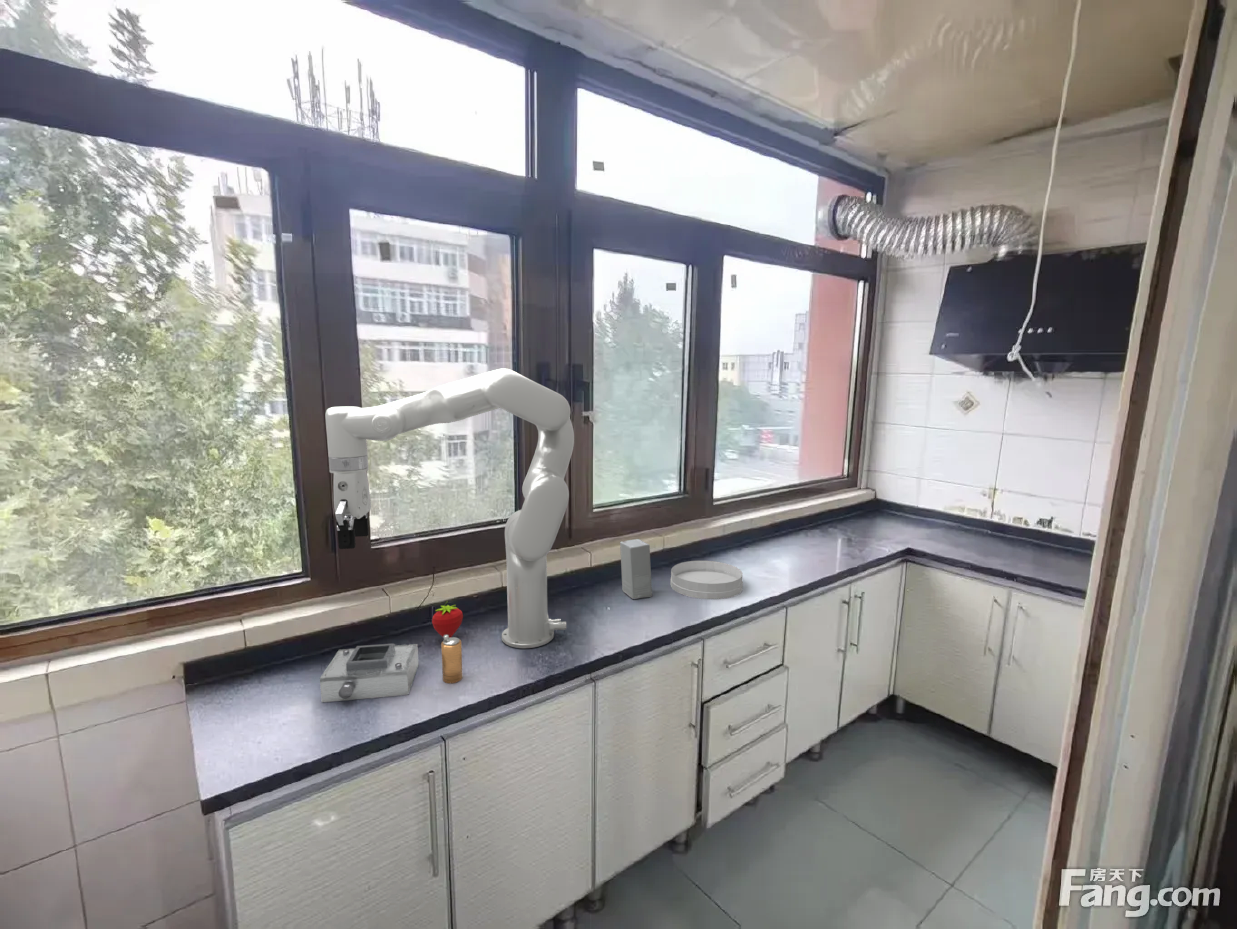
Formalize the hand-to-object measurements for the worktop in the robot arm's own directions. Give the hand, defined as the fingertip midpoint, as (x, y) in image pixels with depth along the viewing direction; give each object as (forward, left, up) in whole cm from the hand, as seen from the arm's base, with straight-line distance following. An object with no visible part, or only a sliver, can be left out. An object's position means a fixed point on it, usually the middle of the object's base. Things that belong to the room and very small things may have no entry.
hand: (354, 541), depth 122 cm
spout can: (-21, +12, -27) cm, 36 cm away
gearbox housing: (-5, +11, -27) cm, 30 cm away
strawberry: (-18, -7, -27) cm, 33 cm away
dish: (-92, -32, -28) cm, 101 cm away
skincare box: (-69, -29, -27) cm, 80 cm away
